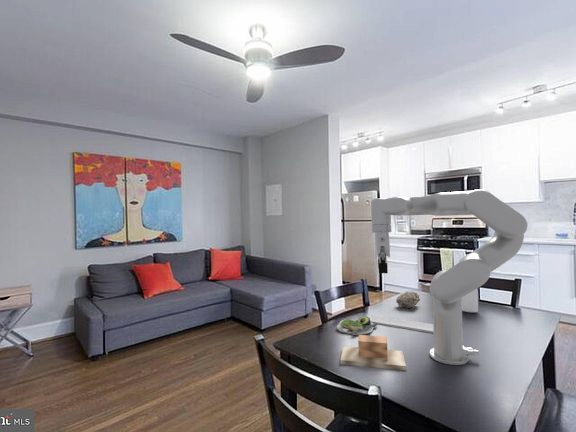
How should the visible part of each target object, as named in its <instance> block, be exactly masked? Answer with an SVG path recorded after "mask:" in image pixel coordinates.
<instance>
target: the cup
mask: <svg viewBox="0 0 576 432" xmlns="http://www.w3.org/2000/svg"><path fill="white" fill-rule="evenodd" d="M478 291H479V290H478V288H477V289H476V290H474V291H472V292H471V293H469V294H467V295H466V296H464V297H462V312H467V313H477V312H478V311H479V293H478Z"/></svg>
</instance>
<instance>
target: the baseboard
mask: <svg viewBox="0 0 576 432" xmlns="http://www.w3.org/2000/svg"><path fill="white" fill-rule="evenodd" d="M368 317H369V319H370V322H372V323H374V324H378V325H380V326H381V325H382V326H387V327H394V328H399V329H405V330H413V331H419V332H423V333H430V334H431V333H432V334H434V332H433V323H426V322H420V321H413V320H407V319H399V318H392V317H386V316H380V315H378V316H377V315H371V316H368Z"/></svg>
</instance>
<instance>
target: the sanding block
mask: <svg viewBox="0 0 576 432" xmlns="http://www.w3.org/2000/svg"><path fill="white" fill-rule="evenodd" d="M357 342H358V343H357V344H358V347H359V358H368V359H380V360H388V351H387V350H388V339H387V336H383V335H382V336H381V335H380V336H379V335H368V334H364V335H358V341H357Z"/></svg>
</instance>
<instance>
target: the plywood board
mask: <svg viewBox="0 0 576 432" xmlns="http://www.w3.org/2000/svg"><path fill="white" fill-rule="evenodd" d="M387 351H388V360H380V359H368V358H359V347H356V346H345V345H343V347H342V352H341V355H340V356H341V357H340V365H346V366H356V367H366V368H377V369H386V370H387V369H388V370H398V371H400V370H401V371H407V364H406V361H405V356H404V352H403V350H396V349H387Z"/></svg>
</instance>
